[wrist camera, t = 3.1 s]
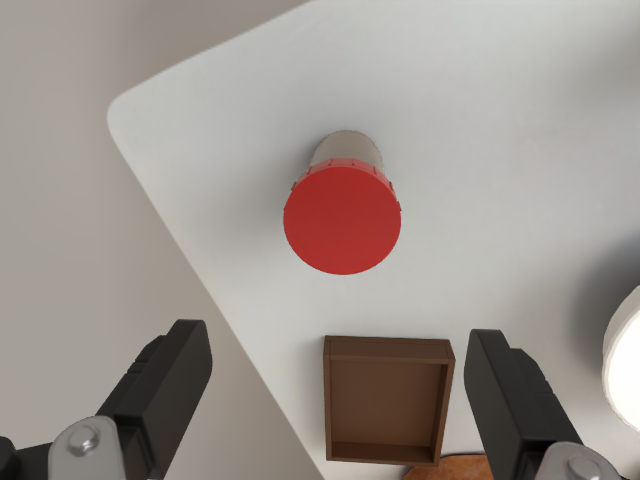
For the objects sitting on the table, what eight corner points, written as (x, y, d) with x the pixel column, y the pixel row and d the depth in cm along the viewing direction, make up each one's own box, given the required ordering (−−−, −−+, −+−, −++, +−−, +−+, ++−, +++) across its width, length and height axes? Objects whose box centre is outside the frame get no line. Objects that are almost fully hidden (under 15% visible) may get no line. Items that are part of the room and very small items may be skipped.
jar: (313, 198, 33) (293, 265, 23) (310, 130, 31) (287, 170, 20) (379, 198, 32) (391, 266, 22) (382, 129, 30) (397, 169, 20)
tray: (327, 438, 46) (326, 460, 43) (325, 335, 39) (323, 354, 37) (433, 444, 45) (438, 467, 42) (449, 339, 38) (455, 359, 36)
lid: (291, 258, 24) (286, 274, 22) (284, 157, 21) (278, 166, 20) (394, 260, 23) (398, 276, 22) (401, 156, 21) (405, 165, 19)
